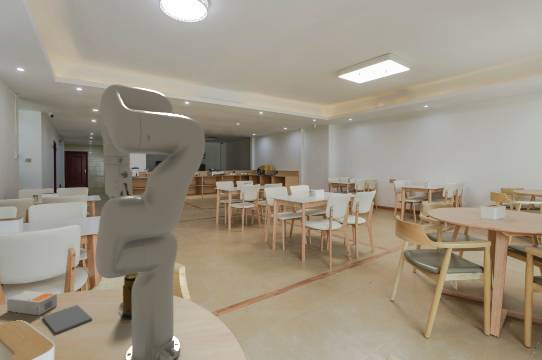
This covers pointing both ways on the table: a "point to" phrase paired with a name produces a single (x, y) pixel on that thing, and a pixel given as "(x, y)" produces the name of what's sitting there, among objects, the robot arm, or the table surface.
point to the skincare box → (32, 302)
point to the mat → (66, 319)
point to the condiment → (127, 297)
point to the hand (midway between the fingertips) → (118, 217)
